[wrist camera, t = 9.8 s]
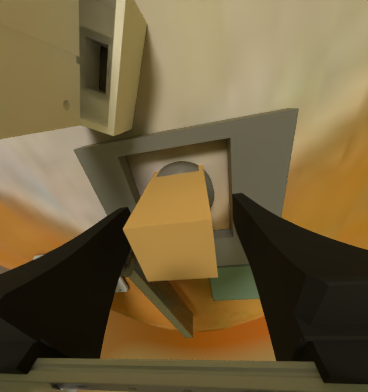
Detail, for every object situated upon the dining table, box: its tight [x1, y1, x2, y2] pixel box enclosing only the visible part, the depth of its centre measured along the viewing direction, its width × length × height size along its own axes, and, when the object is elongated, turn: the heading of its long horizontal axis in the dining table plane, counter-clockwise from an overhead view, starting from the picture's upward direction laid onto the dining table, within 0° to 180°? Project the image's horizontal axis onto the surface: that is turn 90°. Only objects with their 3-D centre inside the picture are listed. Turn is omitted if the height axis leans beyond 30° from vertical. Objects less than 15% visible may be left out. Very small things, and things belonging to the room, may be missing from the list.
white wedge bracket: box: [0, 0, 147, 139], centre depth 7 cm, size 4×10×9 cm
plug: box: [123, 161, 218, 282], centre depth 11 cm, size 5×5×7 cm
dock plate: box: [74, 108, 299, 266], centre depth 14 cm, size 15×14×1 cm
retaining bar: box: [120, 248, 193, 338], centre depth 17 cm, size 15×1×3 cm, turn 23°
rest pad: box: [210, 264, 260, 301], centre depth 20 cm, size 8×7×1 cm
